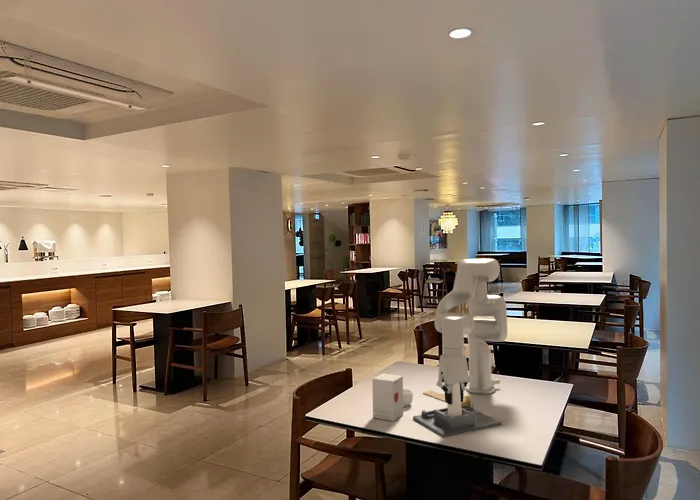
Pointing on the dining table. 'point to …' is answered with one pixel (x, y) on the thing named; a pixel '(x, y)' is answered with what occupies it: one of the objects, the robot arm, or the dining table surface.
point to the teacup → (407, 397)
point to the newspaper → (435, 395)
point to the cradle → (455, 421)
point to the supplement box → (388, 397)
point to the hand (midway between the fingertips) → (454, 401)
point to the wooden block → (466, 402)
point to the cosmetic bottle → (455, 401)
